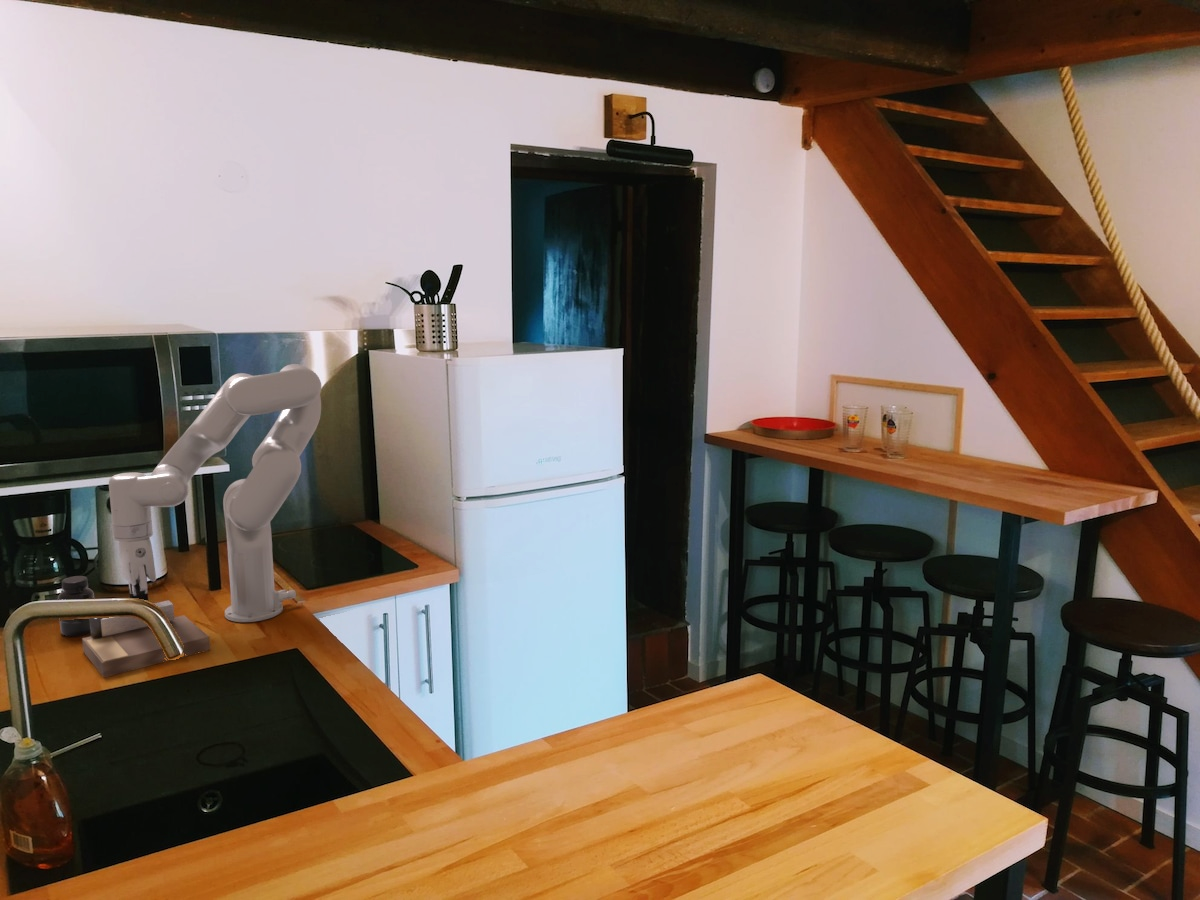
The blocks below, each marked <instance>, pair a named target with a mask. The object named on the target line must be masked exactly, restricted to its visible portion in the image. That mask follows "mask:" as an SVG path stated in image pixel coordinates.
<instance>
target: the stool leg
mask: <svg viewBox="0 0 1200 900" xmlns="http://www.w3.org/2000/svg"><path fill="white" fill-rule="evenodd" d="M153 604H155V605H156V606H158V607H159V608H160V609H161V610H162V611H163V612H164V614H165V615H166V617H167V618H168V619H169V621H173V620H175V619H174V617H175V610H174V609H175V608H174V603H172V602H171V601H170V600H164V601H160V602H155V603H153ZM89 620H90V630H91V633H90V636H91V638H100V637H103V636H108V635H112V634H116V633H121V632H125V631H129V630H134V629H138V628H142V627H147V626H148V625H147V624H146V623H144V622H143V621H141V620H139V619H137V618H132V617H109V618H90V619H89Z"/></svg>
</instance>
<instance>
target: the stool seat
mask: <svg viewBox="0 0 1200 900" xmlns="http://www.w3.org/2000/svg"><path fill="white" fill-rule="evenodd" d="M174 619H175V620H173V621H170V623H171V624H172V626H173V628H174V629H175V631H176V632H177V634H178V636H179V637H180V639H181V641H182V643H183V645H184V656H185V654H186V655H189V656H193V655H196V654H195V653H197V654H199V653H198V652H201V653H204V652H203V651H205V652H209V651H211V643H210V636H209V635H208V634H207V633H206V632H205V631H203V630H202V629H201V628H200V627H198V626H197V625H196V624H195V623H194V622H193V621H191V619H189V618H188V617H187V616H186V615H185V614H182V615H178V616H174ZM81 640H82V651H83V653H84V654H85V656H86V657H87V658H88V660H89V661H90V662H91V664H92V665H93V666H94V667H95V669H96V670H97V672H99V674H100V675H101V677H103V678H108V677H111V676H114V675H115V676H116V675H119V674H123V673H127V672H130V671H134V670H135V671H136V670H138V669H142V668H146V667H150V666H153V665H157V664H158V665H159V664H162V663H166V662H169V661H171V660H168V659H167V658H166V656H165V654H164V652H163V649H162V647H161V646H160V644H159V642H158V640H157V639H156V637H155V635H154V634H153V632H152V630H151V629H150V628H149V627H148V626H147V627H142V628H138V629H134V630H129V631H125V632H121V633H116V634H112V635H108V636H103V637H100V638H91V635H90V636H86V637H82V638H81ZM208 650H209V651H208ZM192 654H193V655H192ZM185 657H186V656H185ZM164 658H166V659H167V660H168V661H166V660H165V659H164ZM163 661H164V662H163Z"/></svg>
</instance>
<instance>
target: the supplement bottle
mask: <svg viewBox="0 0 1200 900" xmlns="http://www.w3.org/2000/svg"><path fill="white" fill-rule="evenodd" d="M88 581H89V580H88V577H87V576H85V575H84V576H83V575H75V576H68V577H66V578H63V579H62V581H61V589H62V591H61V592H60V593H59V595H57V600H58V599H86V598H94V599H95V593H94V591H93V590H92V589H91V588H89V583H88ZM59 626H60V627H59V628H60V633H61V634H62V635H63V636H64V635H65V637H70V636H74V637H81V636H80V635H82V636H85V634H86V635H89V634H91V630H90V620H89V619H74V620H61V621H60V620H59ZM88 633H89V634H88Z"/></svg>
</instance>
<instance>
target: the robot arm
mask: <svg viewBox="0 0 1200 900" xmlns="http://www.w3.org/2000/svg"><path fill="white" fill-rule="evenodd" d="M321 392H322V381H321V379H320V377H319V376H318V374H317V373H316V372H315V371H314V370H312V369H310V368H308V367H307V366H305V365H302V364H299V363H292V364H287V365H285V366H283V368H281V369H280V370H279V371H277V372H271V373H265V374H257V375H252V374H250V373H244V372H240V373H236V374H233V375H231V376H230V377H228V379H227V380H226V381H225V382H224V383H223V384H222V386H221V387H220V388H219V389H218V390H217V392H216V393H215V395H214V396H213V397H212V399H210V400H209V402H208V403H207V405H206V406H205V407H204V409H203V410H202V411H201V412H200V413H199V414H198V415H197V417H196V418H195V420H193V422H192V423H191V425H190V426H189V427H188V428H187V429H186V430H185V432H184V433H183V434H182V435H181V436H180V437H179V438H178V439H177V441H176V442H175V443H174V444H173V445H172V447H171V448H170V449H169V450H168V451H167V453H166V454H165V455H164V457H163V458H162V459H161V460H160V461H159V463H158V464H157V466H156V467H154V470H153V471H152V472H151V474H150V475H146V474H144V473H142V472H135V471H134V472H122V473H118V474H114V475H113V476H111V477H110V478H109V480H108V489H109V490H108V493H109V502H110V510H111V523H112V534H113V540H114V541H117V542H118V548H119V549H118V550H119V551H118V552H119V561H120V562H119V563H120V570H121V575H122V577H123V578H124V579H125V580H126V581H127V582H128V590H129V599H130V598H139V599H144V600H148V601H149V594H148V579H149V580H150V581H151V582H152V583H153V582H156V580H157V574H156V572H157V571H156V566H155V558H154V553H153V546H152V541H151V537H152V536H153V535H154V533H153V532H154V531H153V522H152V521H153V519H152V518H153V517H152V509H151V508H152V507H158V508H159V507H160V508H172V507H173V508H174V507H176V506H178V505H180V504H182V503H183V502H184V501H186V499H187V497H188V494H189V490H190V489H189V485H188V484H189V482H190V480H191V479H192V478H193V477H194V475H195V474H196V473H197V472H198V470H199V469H200V468H201V467H202V465H204V463H205V462H206V461H207V460H208V459H209V458H211V457H212V456H213V455H215V454H216V453H219V452H221V451H222V450H224V449H225V448H226V447H227V446H229V443H231V441H232V440H233V439H234V437H235V436H236V435H237V433H238V432H239V431H240V430H241V428H242V427H243V425H244V424H245V423H246V422H247V420H249V418H250V417H251V416H257V415H258V416H259V415H264V414H265V415H266V414H270V413H275V412H280V414H279V415H278V417H277V419H276V420H275V422H274V424H273V425H272V427H271V428H270V430H269V431H268V433H267V434H266V436H264V439H263V440H262V442H260V444H259V446H258V447H257V448H256V449H255V451H254V453H253V454H252V455H253V456H252V458H251V462H252V463H251V464H252V468H251V471H250V472H249V474H248V475H247V477H246V478H241V479H237V480H235V481H233V482H232V483H231V484H229V486H228V487H227V489H226V491H225V492H224V495H223V499H222V500H223V501H222V505H223V517H224V521H225V522H224V524H225V532H226V546H227V560H228V572H229V573H228V576H229V577H228V578H229V586H230V588H229V589H230V602H231V603H230V604H231V605H229V606H227V608H225V610H224V617H225V618H226V619H227V620H229V621H231V622H236V623H252V622H253V623H254V622H261V621H266V620H269V619H272V618H274V617H276V616H279V614H281V613H282V612H283V610H284V608H283V603H282V602H284V601H285V600H291V599H295V598H296V597H297V593H296V591H295V589H291V590H286V589H279V590H276V589H275V576H274V574H275V573H274V561H273V560H274V558H273V541H272V538H273V537H272V526H271V521H272V520H273V519H274V517H275V516H276V515H277V513H278V512H279V510H280V509H281V507H282V505H283V504H284V502H285V501H286V500H287V498H288V497H289V495H290V494H291V492H292V491H293V489H294V488H295V486H296V484H297V482H298V480H299V479H300V476H301V473H302V462H301V458H300V456H301V455H302V453H303V452H304V450H305V448H306V447H307V445H308V444H309V442H310V440H311V439H312V436H313V435H314V434H315V431H316V430H317V427H318V425H319V422H320V419H321V413H322V398H321Z"/></svg>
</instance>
